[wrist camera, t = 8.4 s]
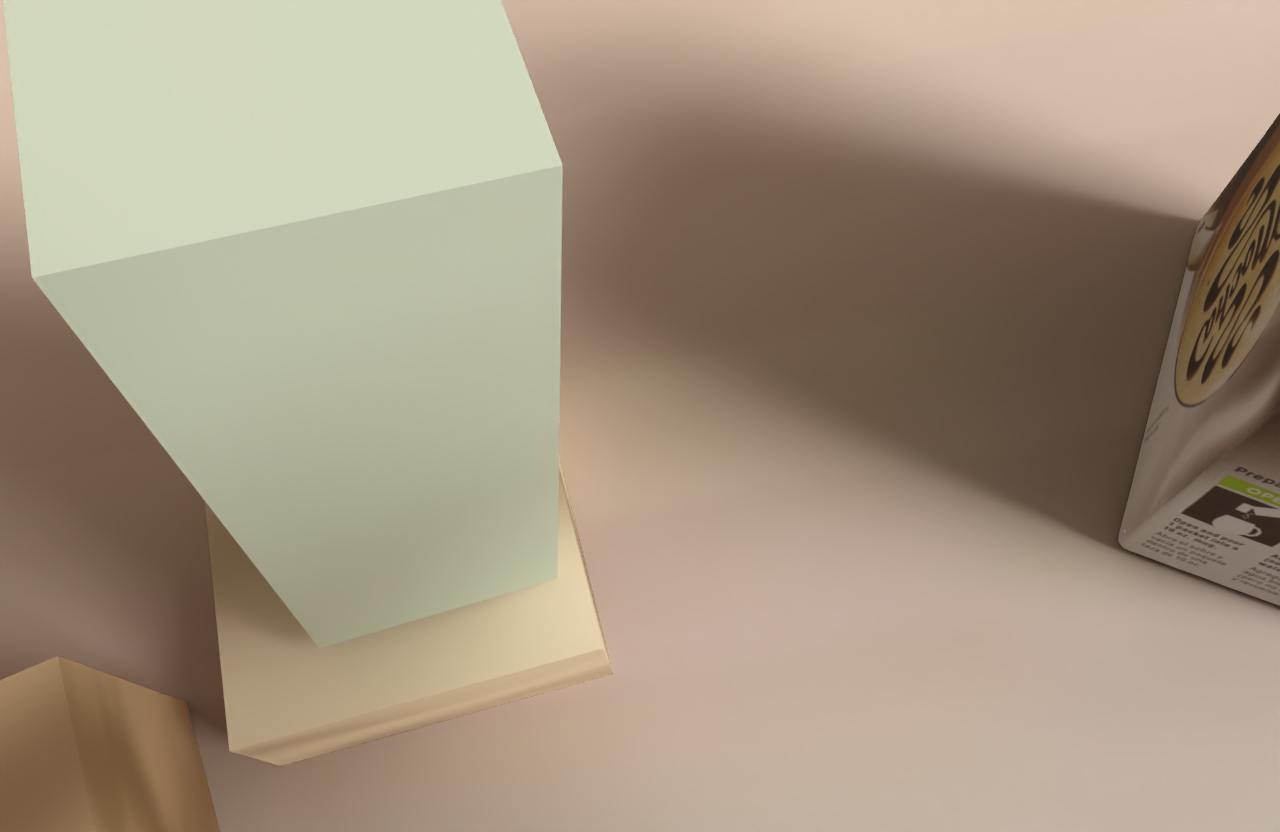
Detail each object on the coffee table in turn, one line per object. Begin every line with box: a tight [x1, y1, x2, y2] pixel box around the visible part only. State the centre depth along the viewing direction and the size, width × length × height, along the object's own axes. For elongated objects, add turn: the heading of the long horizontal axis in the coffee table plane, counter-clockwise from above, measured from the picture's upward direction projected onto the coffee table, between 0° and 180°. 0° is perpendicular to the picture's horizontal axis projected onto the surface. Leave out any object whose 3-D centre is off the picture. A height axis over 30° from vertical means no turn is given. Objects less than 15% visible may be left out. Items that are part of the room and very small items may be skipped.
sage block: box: [3, 0, 563, 648], centre depth 15 cm, size 4×4×12 cm
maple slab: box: [204, 460, 613, 766], centre depth 22 cm, size 7×7×3 cm
